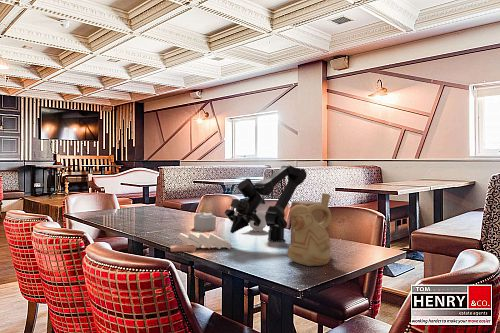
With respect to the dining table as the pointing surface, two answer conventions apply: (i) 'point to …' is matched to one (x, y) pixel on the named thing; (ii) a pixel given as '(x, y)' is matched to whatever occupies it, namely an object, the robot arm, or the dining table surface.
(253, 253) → the dining table surface
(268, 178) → the robot arm
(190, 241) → the domino
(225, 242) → the domino
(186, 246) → the domino
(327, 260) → the ceramic vessel
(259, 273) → the dining table surface
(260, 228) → the teacup
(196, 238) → the domino
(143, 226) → the dining table surface
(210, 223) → the lumpy-topped squat cylinder
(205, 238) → the beige jagged slab
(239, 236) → the dining table surface
